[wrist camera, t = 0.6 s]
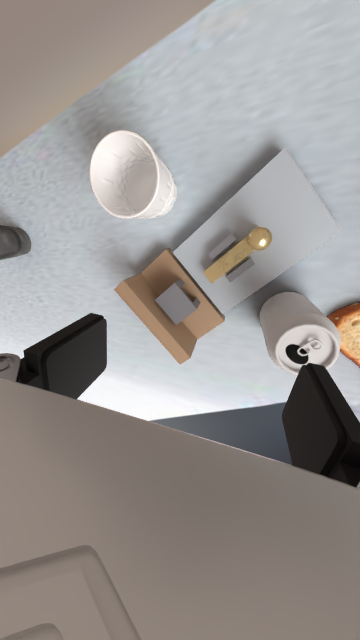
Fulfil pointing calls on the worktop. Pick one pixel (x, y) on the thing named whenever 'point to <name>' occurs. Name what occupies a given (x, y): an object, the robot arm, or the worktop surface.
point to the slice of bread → (348, 330)
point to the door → (218, 238)
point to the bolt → (239, 252)
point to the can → (298, 333)
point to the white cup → (131, 177)
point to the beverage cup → (13, 242)
